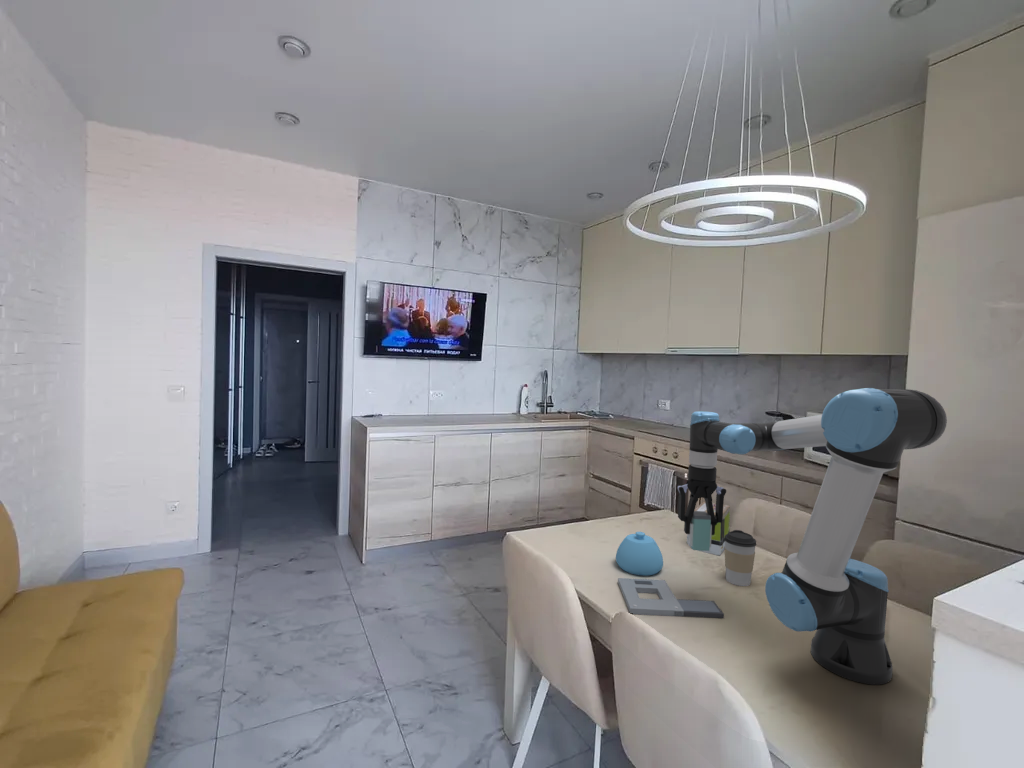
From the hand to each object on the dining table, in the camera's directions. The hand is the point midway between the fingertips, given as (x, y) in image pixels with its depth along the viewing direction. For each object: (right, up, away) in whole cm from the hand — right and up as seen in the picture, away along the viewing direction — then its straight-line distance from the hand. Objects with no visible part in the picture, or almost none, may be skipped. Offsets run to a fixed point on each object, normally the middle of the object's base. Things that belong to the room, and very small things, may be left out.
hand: (698, 544), depth 139 cm
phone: (-5, -15, -9) cm, 18 cm away
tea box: (+19, -14, +38) cm, 45 cm away
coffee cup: (+16, -15, +10) cm, 24 cm away
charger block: (0, -1, 0) cm, 1 cm away
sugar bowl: (-13, -14, +18) cm, 26 cm away
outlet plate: (-15, -14, -3) cm, 21 cm away
